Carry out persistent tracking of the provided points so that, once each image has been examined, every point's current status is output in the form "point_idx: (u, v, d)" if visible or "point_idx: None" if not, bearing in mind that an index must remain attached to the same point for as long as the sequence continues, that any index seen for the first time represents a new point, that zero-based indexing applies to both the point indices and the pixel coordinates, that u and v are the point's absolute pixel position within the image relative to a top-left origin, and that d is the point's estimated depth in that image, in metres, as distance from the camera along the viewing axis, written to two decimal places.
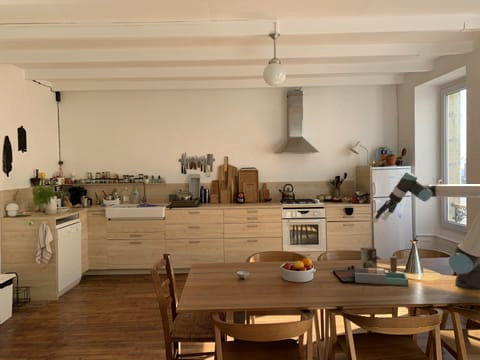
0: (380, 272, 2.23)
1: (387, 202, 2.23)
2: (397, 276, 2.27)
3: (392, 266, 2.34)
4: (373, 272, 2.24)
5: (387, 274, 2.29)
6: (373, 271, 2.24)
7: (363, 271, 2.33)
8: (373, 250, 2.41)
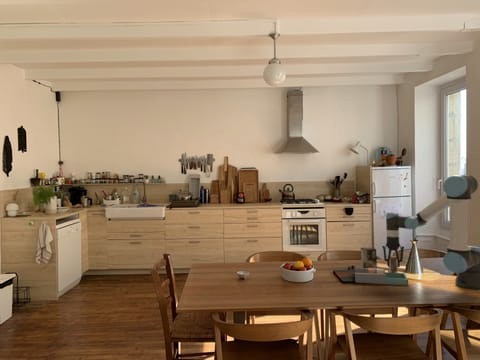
0: (380, 272, 2.23)
1: None
2: (397, 276, 2.27)
3: (392, 266, 2.34)
4: (373, 272, 2.24)
5: (387, 274, 2.29)
6: (373, 271, 2.24)
7: (363, 271, 2.33)
8: (373, 250, 2.41)
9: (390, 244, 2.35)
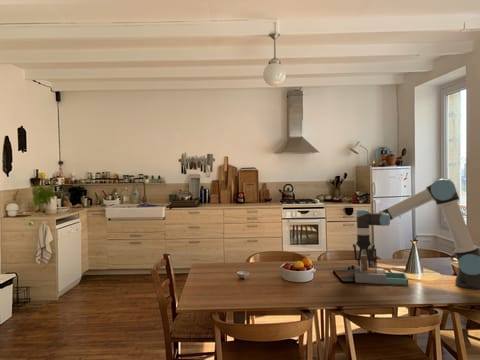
0: (380, 272, 2.23)
1: (353, 245, 2.30)
2: (397, 276, 2.27)
3: (362, 265, 2.26)
4: (373, 272, 2.24)
5: (387, 274, 2.29)
6: (373, 271, 2.24)
7: None
8: None
9: (360, 242, 2.27)
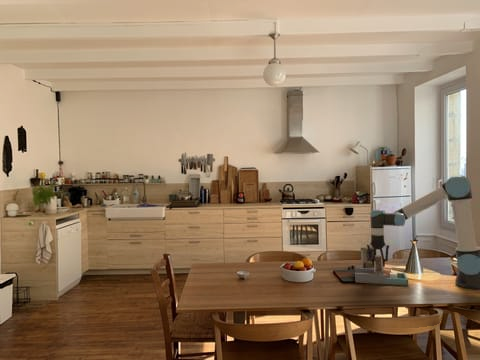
0: (394, 277, 2.21)
1: (367, 246, 2.27)
2: (397, 276, 2.27)
3: (377, 266, 2.24)
4: (388, 273, 2.22)
5: None
6: (388, 272, 2.22)
7: (363, 271, 2.33)
8: (373, 250, 2.41)
9: (375, 243, 2.24)
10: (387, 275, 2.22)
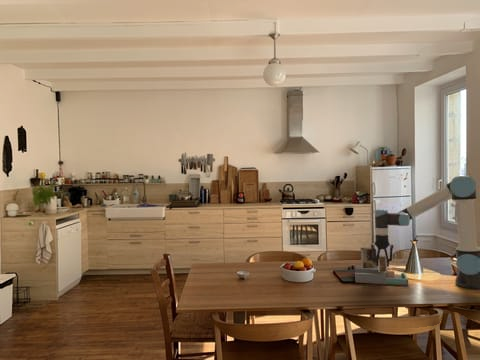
0: (398, 277, 2.20)
1: (371, 246, 2.26)
2: None
3: (381, 266, 2.23)
4: (392, 274, 2.21)
5: None
6: (392, 273, 2.21)
7: (363, 271, 2.33)
8: None
9: (379, 243, 2.24)
10: (392, 276, 2.21)
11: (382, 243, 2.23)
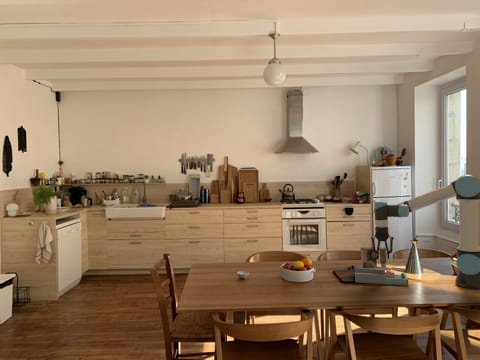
0: (398, 277, 2.20)
1: (371, 238, 2.26)
2: None
3: (381, 258, 2.23)
4: (391, 275, 2.21)
5: None
6: (392, 274, 2.21)
7: (363, 271, 2.33)
8: None
9: (379, 235, 2.23)
10: (390, 277, 2.21)
11: (382, 235, 2.23)
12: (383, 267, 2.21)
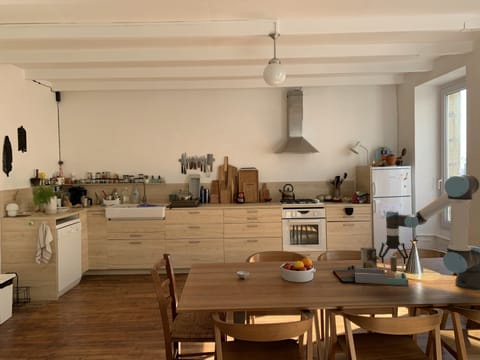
0: (398, 277, 2.20)
1: None
2: None
3: (392, 266, 2.34)
4: (391, 275, 2.21)
5: None
6: (391, 274, 2.21)
7: (363, 271, 2.33)
8: (373, 250, 2.41)
9: (390, 243, 2.35)
10: (390, 277, 2.21)
11: (393, 243, 2.34)
12: None
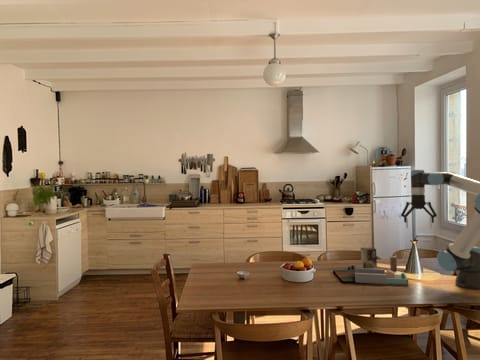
0: (398, 277, 2.20)
1: (406, 203, 2.29)
2: None
3: (392, 266, 2.34)
4: (391, 275, 2.21)
5: None
6: (391, 274, 2.21)
7: (363, 271, 2.33)
8: (373, 250, 2.41)
9: (415, 204, 2.26)
10: (390, 277, 2.21)
11: (418, 203, 2.25)
12: None
